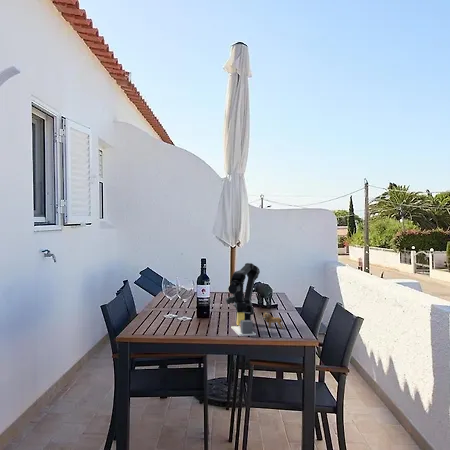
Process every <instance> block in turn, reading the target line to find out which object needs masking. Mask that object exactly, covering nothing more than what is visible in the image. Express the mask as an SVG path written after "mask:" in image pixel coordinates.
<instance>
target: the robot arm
mask: <svg viewBox="0 0 450 450" xmlns="http://www.w3.org/2000/svg"><path fill="white" fill-rule="evenodd" d="M259 275H260V268H259V267H258V266H257V265H254V264H253V263H252V262H247V263H245V264H244V266H242V268H241V269H239V270H236V271H234V272H233V273H232V275H231V278H230V285H228V290H227V291H228V292H229V294H232V296H231V295H230V296H229V297H225V298H224V300H225V303H226V304H227V305H230V304H232V306H233V307H234V308H235V312H236V313H237V312H244V313H245V320H251V321H252V315H254V313H255V309H254V307H253V302H252V295H253V291H254V285H255V281H256V280H257V279H258V278H259ZM246 276H247V281H246V285H245V280H246ZM244 285H245V286H246V287H245V291H244Z"/></svg>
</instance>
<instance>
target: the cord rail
mask: <svg viewBox="0 0 450 450" xmlns="http://www.w3.org/2000/svg"><path fill="white" fill-rule="evenodd" d="M253 323H254V322H253V320H252V319H251V320H241V322H240V326H238V325H237V326H235V325H234V326H231V327H230V328H231V330H233V331H234V333H236V334H237V336H239V337H240V336H241V337H245V336H256V335H257V333H256V332H254V330H253V327H254V326H253Z"/></svg>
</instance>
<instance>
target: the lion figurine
mask: <svg viewBox="0 0 450 450" xmlns="http://www.w3.org/2000/svg"><path fill="white" fill-rule="evenodd" d="M262 314H263V315H262V319H263V320H264V321H265V322H266V323H268V327H267V328H271V327H272V324H276V323H277V325H278V326H277V327H278V328H279V329H280V330H282V329H283V328H285V329H286V326H285V325H284V324H283V320H282V318H281V317H274V316H273V315H271V314H270V313H268V312H263V313H262Z"/></svg>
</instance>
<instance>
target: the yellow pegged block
mask: <svg viewBox="0 0 450 450" xmlns="http://www.w3.org/2000/svg"><path fill="white" fill-rule="evenodd" d="M241 320H245V313H244V312H236V325H237V326H240V322H241Z"/></svg>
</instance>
